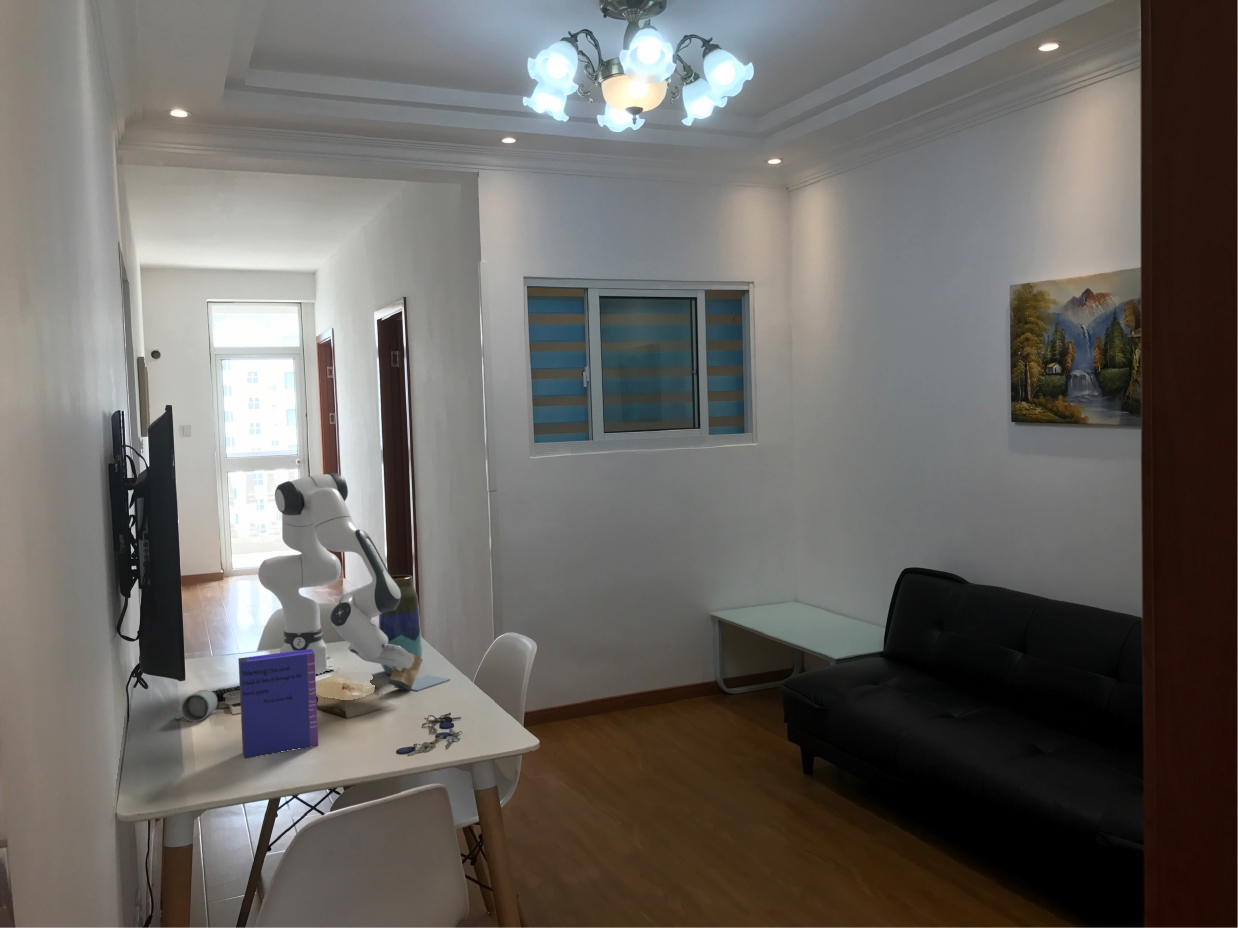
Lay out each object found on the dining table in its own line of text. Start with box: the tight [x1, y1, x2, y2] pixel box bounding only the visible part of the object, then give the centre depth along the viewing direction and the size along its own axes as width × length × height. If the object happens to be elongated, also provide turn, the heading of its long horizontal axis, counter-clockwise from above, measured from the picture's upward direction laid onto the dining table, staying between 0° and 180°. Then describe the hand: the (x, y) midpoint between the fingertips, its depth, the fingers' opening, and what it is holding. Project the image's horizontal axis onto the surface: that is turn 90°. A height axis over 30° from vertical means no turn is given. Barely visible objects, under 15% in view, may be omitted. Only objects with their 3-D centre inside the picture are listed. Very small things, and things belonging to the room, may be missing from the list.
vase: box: [378, 574, 423, 676], centre depth 310 cm, size 14×14×31 cm
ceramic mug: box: [174, 689, 218, 723], centre depth 268 cm, size 11×8×8 cm
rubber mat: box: [410, 674, 451, 692], centre depth 297 cm, size 14×10×1 cm
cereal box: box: [238, 649, 319, 759], centre depth 239 cm, size 17×5×24 cm, turn 117°
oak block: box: [388, 653, 424, 692], centre depth 291 cm, size 5×5×10 cm
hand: (398, 668), depth 289 cm, fingers closed
